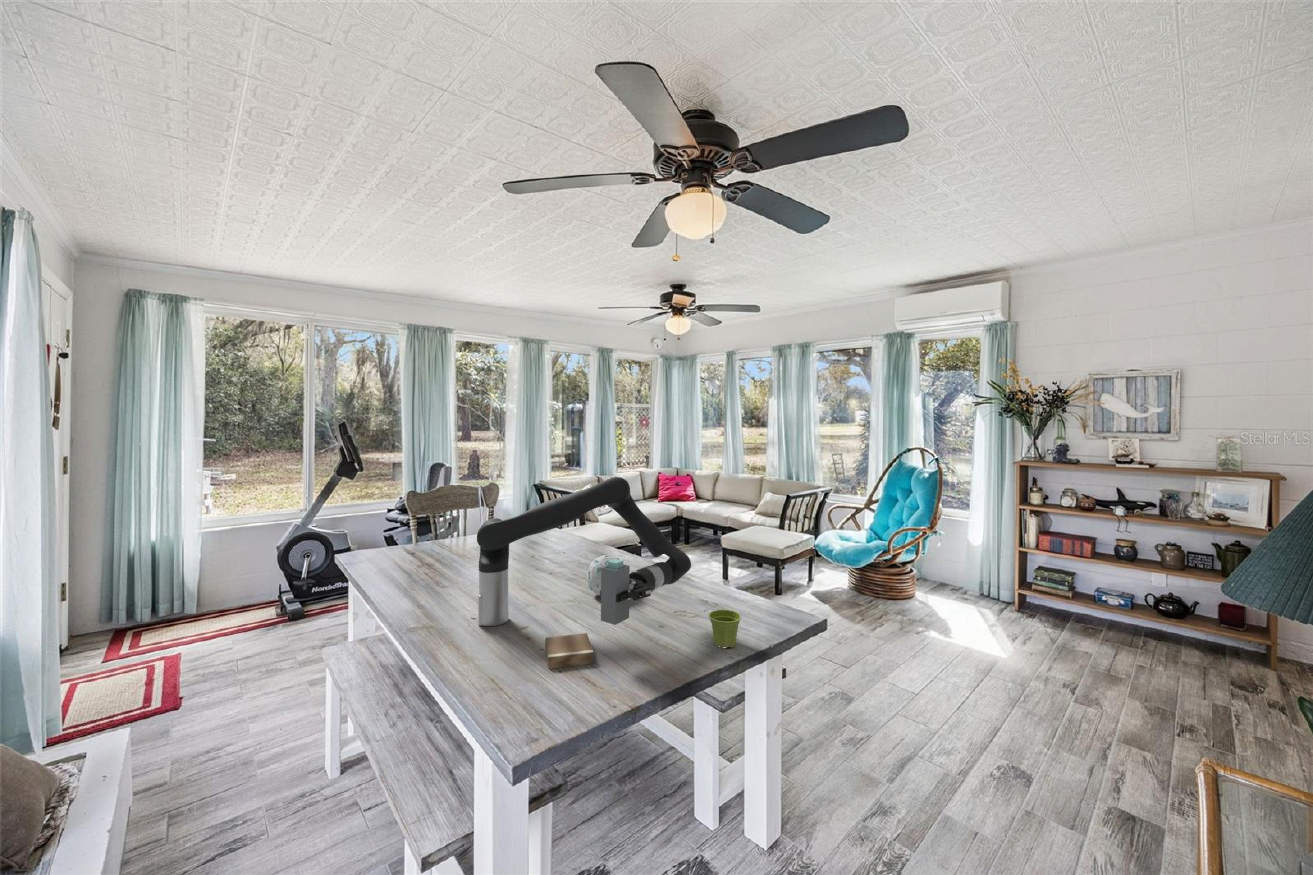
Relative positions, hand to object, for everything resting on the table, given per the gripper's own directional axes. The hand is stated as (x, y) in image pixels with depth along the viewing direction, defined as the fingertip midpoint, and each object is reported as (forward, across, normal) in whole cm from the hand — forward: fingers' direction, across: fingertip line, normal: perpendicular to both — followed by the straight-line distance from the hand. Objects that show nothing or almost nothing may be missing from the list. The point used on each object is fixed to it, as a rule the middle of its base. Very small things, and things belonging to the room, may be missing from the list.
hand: (609, 596), depth 137 cm
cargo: (-3, 0, -6) cm, 7 cm away
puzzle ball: (-42, -36, +19) cm, 59 cm away
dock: (+2, -13, +19) cm, 23 cm away
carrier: (-3, 0, +7) cm, 7 cm away
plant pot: (-29, +20, +19) cm, 40 cm away
